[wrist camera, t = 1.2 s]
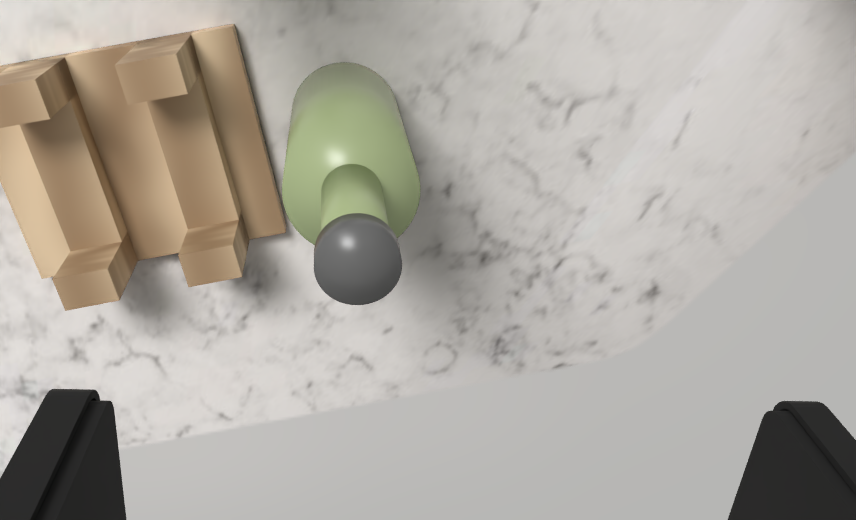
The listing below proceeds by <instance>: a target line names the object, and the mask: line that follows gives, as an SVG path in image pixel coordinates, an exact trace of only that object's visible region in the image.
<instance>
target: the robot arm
mask: <svg viewBox="0 0 856 520" xmlns="http://www.w3.org/2000/svg"><path fill="white" fill-rule="evenodd" d="M0 520H126V513H125V505H124V495H123V487H122V477H121V468H120V460H119V450H118V441H117V432H116V423H115V414H114V407H113V404H112V402H111V401H100V398H99V394H98V392H97V391H96V390H80V389H52V390H50V391H49V392H48V393H47V395H46V396H45V398H44V400H43V402H42V404H41V405H40V407H39V409H38V411H37V413H36V415H35V416H34V418H33V420H32V422H31V424H30V425H29V427H28V429H27V431H26V433H25V435H24V436H23V438H22V440H21V442H20V444H19V445H18V447H17V449H16V451H15V453H14V455H13V456H12V458H11V460H10V462H9V464H8V465H7V467H6V469H5V471H4V473H3V475H2V476H1V478H0ZM728 520H856V440H855V439H854V438H853V437H852V436H851V434H850V433H849V432H848V431H847V430H846V428H845V427H844V426H843V425H842V424H841V423H840V421H839V420H838V419H837V418H836V417H835V416H834V415H833V413H832V412H831V411H830V410H829V409H828V407H826V406H825V405H824V404H823V403H820V402H808V401H805V402H803V401H782V402H779V403H778V404H777V405H776V406H775V407H774V409H773V411H768V412H767V413H766V414H765V415H764V417H763V419H762V421H761V424H760V427H759V431H758V433H757V436H756V439H755V442H754V445H753V448H752V451H751V454H750V456H749V459H748V462H747V465H746V468H745V471H744V474H743V477H742V480H741V483H740V486H739V489H738V491H737V494H736V497H735V500H734V503H733V506H732V509H731V512H730V515H729V518H728Z"/></svg>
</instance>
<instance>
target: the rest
mask: <svg viewBox="0 0 856 520" xmlns="http://www.w3.org/2000/svg"><path fill="white" fill-rule="evenodd" d="M0 182H1V184H2V187H3V189H4V191H5V194H6V196H7V198H8V201H9V203H10V205H11V208H12V210H13V212H14V215H15V217H16V219H17V222H18V224H19V226H20V229H21V231H22V233H23V236H24V238H25V240H26V243H27V245H28V247H29V250H30V252H31V254H32V257H33V259H34V261H35V264H36V266H37V268H38V271H39V273H40V275H41V278H42V279H43V278H49V277H53V279H52V280H53V282H54V285H55V287H56V289H57V292H58V294H59V296H60V299H61V301H62V304H63V306H64V308H65V311H66V310H71V309H77V308H82V307H87V306H92V305H98V304H103V303H108V302H113V301H119V300H120V298H121V296H122V294H123V292H124V289H125V287H126V285H127V283H128V281H129V279H130V277H131V275H132V272H133V270H134V268H135V266H136V264H137V262H138V260H144V259H149V258H154V257H160V256H165V255H170V254H175V253H179V255H178V257H179V260H180V263H181V266H182V269H183V272H184V275H185V278H186V281H187V284H188V287H192V286H197V285H203V284H208V283H213V282H218V281H224V280H229V279H234V278H239V277H242V275H243V270H244V265H245V260H246V255H247V249H248V244H249V240H250V239H255V238H260V237H265V236H271V235H276V234H281V233H286V223H285V219H284V215H283V211H282V207H281V203H280V200H279V196H278V192H277V188H276V184H275V180H274V176H273V172H272V169H271V165H270V161H269V157H268V153H267V149H266V145H265V142H264V138H263V134H262V130H261V126H260V122H259V118H258V115H257V111H256V107H255V103H254V99H253V95H252V91H251V88H250V84H249V80H248V76H247V72H246V68H245V64H244V61H243V57H242V53H241V49H240V45H239V41H238V37H237V34H236V30H235V26H234V24H230V25H225V26H219V27H214V28H208V29H203V30H197V31H191V32H186V33H180V34H175V35H169V36H164V37H158V38H152V39H147V40H141V41H136V42H130V43H125V44H119V45H114V46H108V47H102V48H97V49H91V50H86V51H80V52H75V53H69V54H63V55H58V56H52V57H47V58H41V59H36V60H30V61H24V62H19V63H13V64H8V65H2V66H0Z"/></svg>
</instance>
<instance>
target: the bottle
mask: <svg viewBox="0 0 856 520" xmlns="http://www.w3.org/2000/svg"><path fill="white" fill-rule="evenodd" d="M282 198H283V204H284V208H285V211H286V214H287V216H288V218H289V220H290V221H291V223H292V224H293V226H294V227H295V229H296V230H297V231H298V232H299V233H300V234H301V235H302V236H303V237H304V238H305V239H306V240H308V241H309V242H311V243H312V244H314V245H315V248H314V273H315V277H316V280H317V282H318V284H319V286H320V287H321V288H322V290H323V291H324V292H325V293H326V294H327V295H329V296H330V297H331V298H333V299H335V300H337V301H339V302H342V303H345V304H350V305H364V304H369V303H373V302H375V301H378V300H380V299H381V298H383V297H385V296H386V295H387V294H388V293H389V292H391V290H392V289H393V288H394V287H395V285H396V284H397V282H398V280H399V278H400V275H401V270H402V260H401V254H400V249H399V244H398V240H397V238H398V237H399V236H400V235H401V234H402V233H403V232H404V231H405V230H406V229H407V227H408V226H409V225H410V223H411V221H412V220H413V218H414V216H415V214H416V211H417V208H418V205H419V199H420V180H419V176H418V172H417V168H416V165H415V162H414V158H413V155H412V152H411V149H410V145H409V142H408V139H407V135H406V132H405V129H404V126H403V122H402V119H401V116H400V113H399V109H398V106H397V103H396V99H395V97H394V94H393V92H392V90H391V89H390V87H389V85H388V84H387V83H386V81H385V80H384V79H383V78H382V77H381V76H379V75H378V74H377V73H376V72H374V71H372V70H371V69H369V68H367V67H365V66H362V65H359V64H354V63H334V64H330V65H326V66H324V67H321V68H320V69H318V70H316V71H314V72H313V73H312V74H310V75H309V76H308V77H307V78H306V79H305V80H304V81H303V83H302V84H301V85H300V87H299V89H298V90H297V92H296V95H295V97H294V101H293V105H292V113H291V120H290V128H289V136H288V144H287V151H286V159H285V167H284V174H283V183H282Z"/></svg>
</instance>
